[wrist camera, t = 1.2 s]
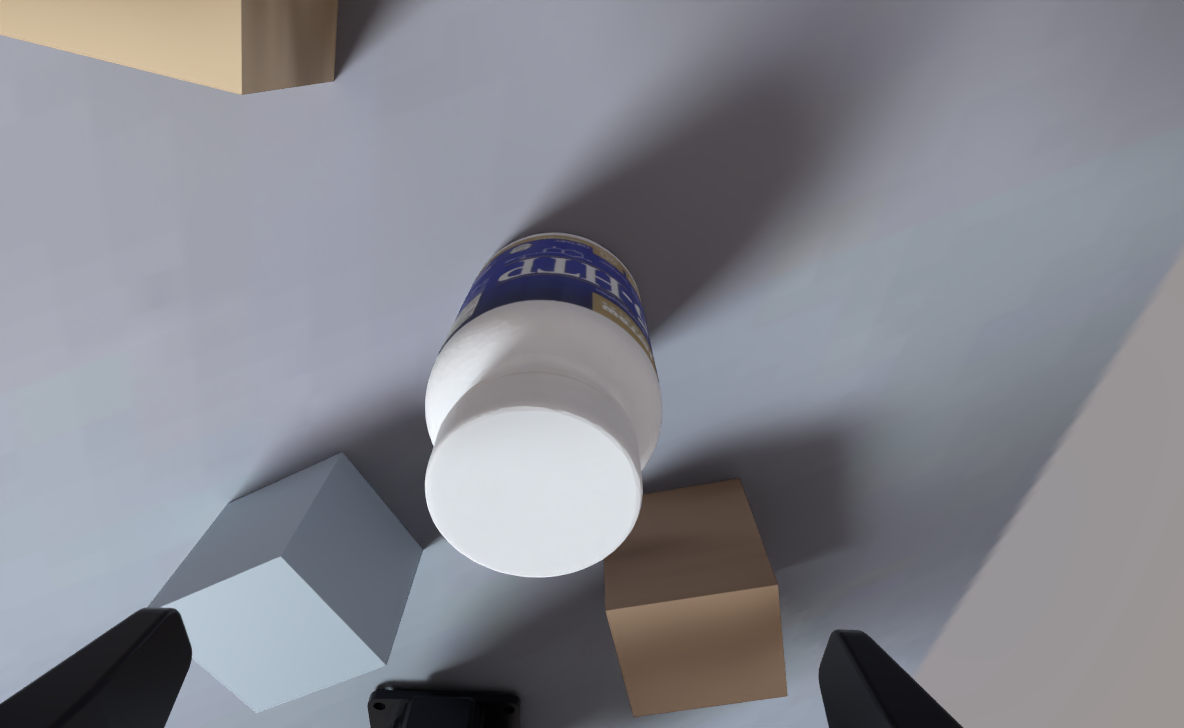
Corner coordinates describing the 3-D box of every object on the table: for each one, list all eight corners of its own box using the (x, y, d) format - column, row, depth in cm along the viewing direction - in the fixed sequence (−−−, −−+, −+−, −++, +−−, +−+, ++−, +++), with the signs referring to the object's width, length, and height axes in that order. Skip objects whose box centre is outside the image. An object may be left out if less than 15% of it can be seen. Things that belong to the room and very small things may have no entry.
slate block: (423, 548, 24) (386, 665, 19) (315, 591, 24) (256, 713, 20) (343, 450, 21) (280, 556, 17) (229, 502, 22) (141, 615, 18)
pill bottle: (668, 263, 18) (733, 426, 11) (606, 406, 21) (621, 630, 13) (495, 202, 18) (425, 330, 10) (450, 358, 20) (362, 567, 12)
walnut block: (750, 577, 24) (787, 696, 20) (624, 596, 25) (633, 717, 20) (739, 476, 22) (777, 584, 18) (601, 499, 23) (605, 610, 18)
